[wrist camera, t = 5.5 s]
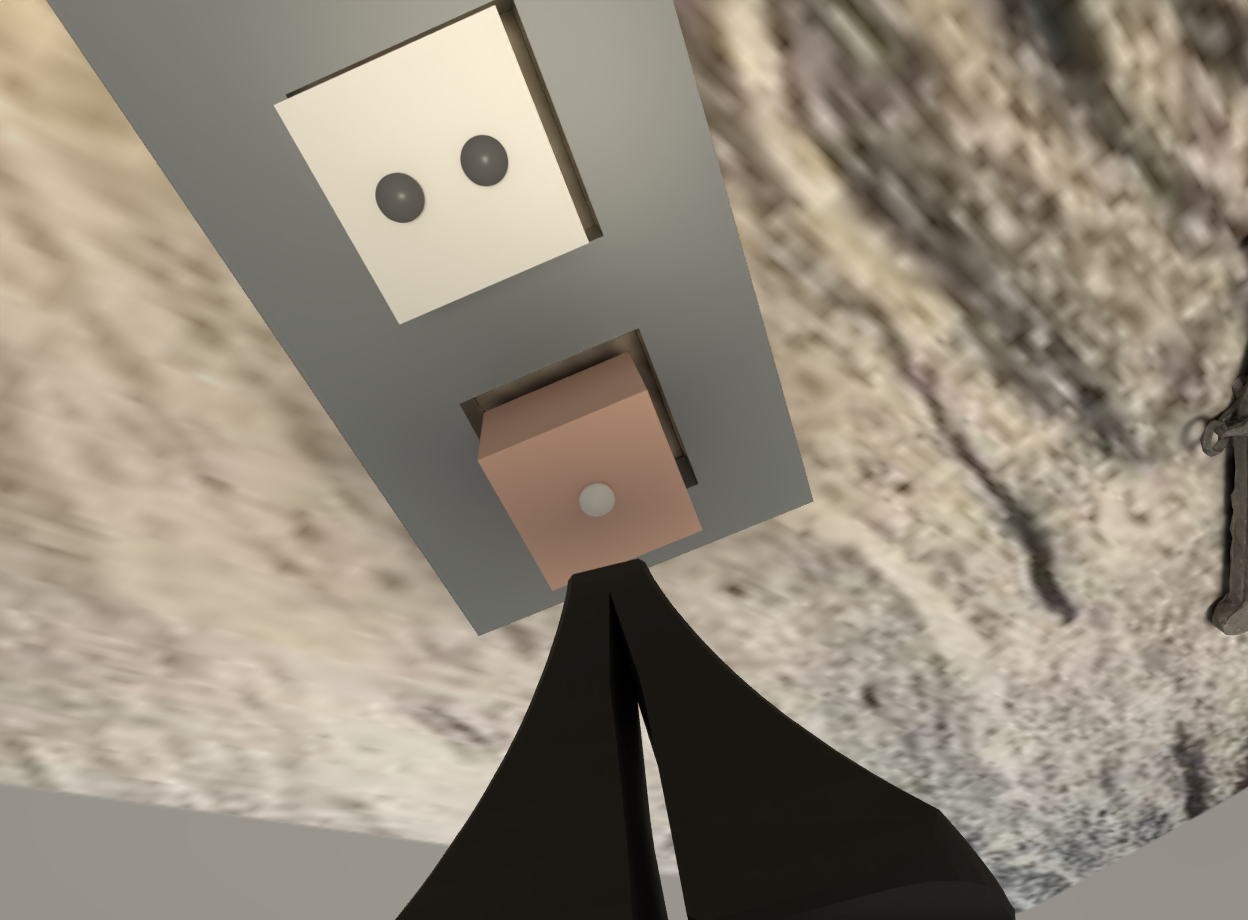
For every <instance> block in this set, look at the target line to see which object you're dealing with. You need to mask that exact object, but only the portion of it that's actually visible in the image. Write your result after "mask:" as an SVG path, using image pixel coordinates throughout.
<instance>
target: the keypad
mask: <svg viewBox="0 0 1248 920" xmlns="http://www.w3.org/2000/svg"><path fill="white" fill-rule="evenodd" d="M46 1H47V2H48V4H49V5H50V7H51V8H52V9H53V11H54V12H55V14H56V15H57V17H58V18H59V20H60V21H61V23H62V24H63V26H64V27H65V29H66V30H67V31H68V33H69V34H70V36H71V37H72V39H73V40H74V42H75V43H76V45H77V46H78V48H79V49H80V51H81V52H82V54H83V55H84V56H85V58H86V59H87V61H88V62H89V64H90V65H91V67H92V68H93V70H94V71H95V73H96V74H97V76H98V77H99V79H100V80H101V81H102V83H103V84H104V86H105V87H106V89H107V90H108V92H109V93H110V95H111V96H112V98H113V99H114V101H115V102H116V104H117V105H118V106H119V108H120V109H121V111H122V112H123V114H124V115H125V117H126V118H127V120H128V121H129V123H130V124H131V126H132V127H133V128H134V130H135V131H136V133H137V134H138V136H139V137H140V139H141V140H142V142H143V143H144V145H145V146H146V148H147V149H148V151H149V152H150V153H151V155H152V156H153V158H154V159H155V161H156V162H157V164H158V165H159V167H160V168H161V170H162V171H163V173H164V174H165V176H166V177H167V178H168V180H169V181H170V183H171V184H172V186H173V187H174V189H175V190H176V192H177V193H178V195H179V196H180V198H181V199H182V201H183V202H184V203H185V205H186V206H187V208H188V209H189V211H190V212H191V214H192V215H193V217H194V218H195V220H196V221H197V223H198V224H199V225H200V227H201V228H202V230H203V231H204V233H205V234H206V236H207V237H208V239H209V240H210V242H211V243H212V245H213V246H214V248H215V249H216V250H217V252H218V253H219V255H220V256H221V258H222V259H223V261H224V262H225V264H226V265H227V267H228V268H229V270H230V271H231V273H232V274H233V275H234V277H235V278H236V280H237V281H238V283H239V284H240V286H241V287H242V289H243V290H244V292H245V293H246V295H247V296H248V298H249V299H250V300H251V302H252V303H253V305H254V306H255V308H256V309H257V311H258V312H259V314H260V315H261V317H262V318H263V320H264V321H265V322H266V324H267V325H268V327H269V328H270V330H271V331H272V333H273V334H274V336H275V337H276V339H277V340H278V342H279V343H280V345H281V346H282V347H283V349H284V350H285V352H286V353H287V355H288V356H289V358H290V359H291V361H292V362H293V364H294V365H295V367H296V368H297V370H298V371H299V372H300V374H301V375H302V377H303V378H304V380H305V381H306V383H307V384H308V386H309V387H310V389H311V390H312V392H313V393H314V395H315V396H316V397H317V399H318V400H319V402H320V403H321V405H322V406H323V408H324V409H325V411H326V412H327V414H328V415H329V417H330V418H331V419H332V421H333V422H334V424H335V425H336V427H337V428H338V430H339V431H340V433H341V434H342V436H343V437H344V439H345V440H346V442H347V443H348V444H349V446H350V447H351V449H352V450H353V452H354V453H355V455H356V456H357V458H358V459H359V461H360V462H361V464H362V465H363V467H364V468H365V469H366V471H367V472H368V474H369V475H370V477H371V478H372V480H373V481H374V483H375V484H376V486H377V487H378V489H379V490H380V492H381V493H382V494H383V496H384V497H385V499H386V500H387V502H388V503H389V505H390V506H391V508H392V509H393V511H394V512H395V514H396V515H397V516H398V518H399V519H400V521H401V522H402V524H403V525H404V527H405V528H406V530H407V531H408V533H409V534H410V536H411V537H412V539H413V540H414V541H415V543H416V544H417V546H418V547H419V549H420V550H421V552H422V553H423V555H424V556H425V558H426V559H427V561H428V562H429V564H430V565H431V566H432V568H433V569H434V571H435V572H436V574H437V575H438V577H439V578H440V580H441V581H442V583H443V584H444V586H445V587H446V588H447V590H448V591H449V593H450V594H451V596H452V597H453V599H454V600H455V602H456V603H457V605H458V606H459V608H460V609H461V611H462V612H463V613H464V615H465V616H466V618H467V619H468V621H469V622H470V624H471V625H472V627H473V628H474V630H475V631H476V633H477V634H478V636H480V635H482V634H485V633H487V632H490V631H492V630H495V629H497V628H500V627H502V626H505V625H507V624H510V623H512V622H515V621H517V620H520V619H522V618H525V617H527V616H530V615H532V614H535V613H537V612H540V611H542V610H545V609H547V608H550V607H552V606H555V605H557V604H559V603H562V602H564V601H565V597H566V591H567V585H566V586H564V587H561V588H559V589H556V590H554V591H552V589H551V588H550V586H549V584H548V582H547V581H546V579H545V577H544V575H543V574H542V572H541V570H540V568H539V567H538V565H537V563H536V562H535V560H534V558H533V556H532V555H531V553H530V551H529V549H528V548H527V546H526V544H525V542H524V541H523V539H522V537H521V535H520V534H519V532H518V530H517V528H516V527H515V525H514V523H513V521H512V520H511V518H510V516H509V514H508V513H507V511H506V509H505V507H504V506H503V504H502V502H501V501H500V499H499V497H498V495H497V494H496V492H495V490H494V488H493V487H492V485H491V483H490V481H489V480H488V478H487V476H486V474H485V473H484V471H483V469H482V467H481V466H480V464H479V462H478V453H479V445H480V438H481V430H482V422H483V415H484V414H483V412H482V410H481V408H480V407H479V405H478V403H477V401H476V399H475V397H477V396H479V395H482V394H484V393H486V392H489V391H491V390H493V389H496V388H498V387H501V386H503V385H505V384H508V383H510V382H512V381H515V380H517V379H519V378H522V377H524V376H527V375H529V374H531V373H534V372H536V371H538V370H541V369H543V368H546V367H548V366H550V365H553V364H555V363H557V362H560V361H562V360H565V359H567V358H569V357H572V356H574V355H576V354H579V353H581V352H584V351H586V350H588V349H591V348H593V347H595V346H598V345H600V344H603V343H605V342H607V341H610V340H612V339H614V338H617V337H619V336H621V335H624V334H626V333H629V332H631V331H633V330H636V331H637V334H638V337H639V339H640V342H641V344H642V347H643V350H644V352H645V355H646V357H647V360H648V363H649V365H650V368H651V370H652V373H653V375H654V378H655V381H656V383H657V386H658V388H659V391H660V394H661V396H662V399H663V401H664V404H665V407H666V409H667V412H668V414H669V417H670V420H671V422H672V425H673V427H674V430H675V433H676V435H677V438H678V440H679V443H680V446H681V448H682V451H683V453H684V456H682V457H680V458H677V459H675V461H676V464H677V466H678V469H679V472H680V474H681V477H682V479H683V482H684V484H685V487H686V489H687V492H688V494H689V497H690V499H691V502H692V504H693V507H694V509H695V512H696V515H697V517H698V520H699V522H700V525H701V527H702V531H700V532H697V533H695V534H692V535H690V536H687V537H685V538H682V539H680V540H678V541H675V542H673V543H670V544H668V545H665V546H663V547H660V548H658V549H655V550H653V551H650V552H648V553H645V554H643V555H640V556H638V557H635V558H633V559H630V560H634V559H638V558H639V559H641V560H642V561H644V562H646V565H647V567H648V568H649V567H651V566H654V565H656V564H659V563H661V562H664V561H666V560H669V559H671V558H674V557H676V556H679V555H681V554H684V553H686V552H689V551H691V550H694V549H696V548H699V547H701V546H704V545H706V544H709V543H711V542H714V541H716V540H719V539H721V538H724V537H726V536H729V535H731V534H733V533H736V532H738V531H741V530H743V529H746V528H748V527H751V526H753V525H756V524H758V523H761V522H763V521H766V520H768V519H771V518H773V517H776V516H778V515H781V514H783V513H786V512H788V511H791V510H793V509H796V508H798V507H801V506H803V505H806V504H808V503H811V502H813V498H812V494H811V491H810V487H809V484H808V480H807V476H806V473H805V469H804V466H803V462H802V459H801V455H800V452H799V448H798V444H797V441H796V437H795V434H794V430H793V427H792V423H791V420H790V416H789V412H788V409H787V405H786V402H785V398H784V395H783V391H782V387H781V384H780V380H779V377H778V373H777V370H776V366H775V363H774V359H773V355H772V352H771V348H770V345H769V341H768V338H767V334H766V331H765V327H764V323H763V320H762V316H761V313H760V309H759V306H758V302H757V299H756V295H755V291H754V288H753V284H752V281H751V277H750V274H749V270H748V266H747V263H746V259H745V256H744V252H743V249H742V245H741V242H740V238H739V234H738V231H737V227H736V224H735V220H734V217H733V213H732V210H731V206H730V202H729V199H728V195H727V192H726V188H725V185H724V181H723V178H722V174H721V170H720V167H719V163H718V160H717V156H716V153H715V149H714V145H713V142H712V138H711V135H710V131H709V128H708V124H707V121H706V117H705V113H704V110H703V106H702V103H701V99H700V96H699V92H698V89H697V85H696V81H695V78H694V74H693V71H692V67H691V64H690V60H689V57H688V53H687V49H686V46H685V42H684V39H683V35H682V32H681V28H680V24H679V21H678V17H677V14H676V10H675V7H674V3H673V0H46ZM494 5H495V6H496V9H497V11H498V14H500V13H502V12H504V11H506V10H509V9H511V8H512V10H513V12H514V15H515V17H516V20H517V23H518V25H519V28H520V30H521V33H522V36H523V38H524V41H525V43H526V46H527V49H528V51H529V54H530V56H531V59H532V62H533V64H534V67H535V69H536V72H537V75H538V77H539V80H540V82H541V85H542V88H543V90H544V93H545V95H546V98H547V100H548V103H549V106H550V108H551V111H552V113H553V116H554V119H555V121H556V124H557V126H558V129H559V132H560V134H561V137H562V139H563V142H564V145H565V147H566V150H567V152H568V155H569V158H570V160H571V163H572V165H573V168H574V171H575V173H576V176H577V178H578V181H579V184H580V186H581V189H582V191H583V194H584V196H585V199H586V202H587V204H588V207H589V209H590V212H591V215H592V217H593V220H594V222H595V225H596V226H594V227H591V228H589V229H587V230H584V231H585V234H586V236H587V239H588V241H589V243H588V244H586V245H583V246H581V247H579V248H576V249H574V250H572V251H569V252H567V253H565V254H562V255H560V256H558V257H555V258H553V259H551V260H548V261H546V262H544V263H541V264H539V265H537V266H534V267H532V268H530V269H527V270H525V271H523V272H520V273H518V274H516V275H514V276H511V277H509V278H507V279H504V280H502V281H500V282H497V283H495V284H493V285H490V286H488V287H486V288H483V289H481V290H479V291H476V292H474V293H472V294H469V295H467V296H465V297H462V298H460V299H458V300H455V301H453V302H451V303H448V304H446V305H444V306H441V307H439V308H437V309H434V310H432V311H430V312H427V313H425V314H423V315H420V316H418V317H416V318H414V319H411V320H409V321H407V322H404V323H402V324H400V325H399V323H398V321H397V319H396V318H395V316H394V314H393V312H392V311H391V309H390V307H389V305H388V304H387V302H386V300H385V298H384V297H383V295H382V293H381V291H380V290H379V288H378V286H377V284H376V283H375V281H374V279H373V277H372V276H371V274H370V272H369V270H368V269H367V267H366V265H365V264H364V262H363V260H362V258H361V257H360V255H359V253H358V251H357V250H356V248H355V246H354V244H353V243H352V241H351V239H350V237H349V236H348V234H347V232H346V230H345V229H344V227H343V225H342V223H341V222H340V220H339V218H338V216H337V215H336V213H335V211H334V209H333V208H332V206H331V204H330V203H329V201H328V199H327V197H326V196H325V194H324V192H323V190H322V189H321V187H320V185H319V183H318V182H317V180H316V178H315V176H314V175H313V173H312V171H311V169H310V168H309V166H308V164H307V162H306V161H305V159H304V157H303V155H302V154H301V152H300V150H299V148H298V147H297V145H296V143H295V142H294V140H293V138H292V136H291V135H290V133H289V131H288V129H287V128H286V126H285V124H284V122H283V121H282V119H281V117H280V115H279V114H278V112H277V110H276V108H275V107H274V105H275V104H277V103H279V102H282V101H284V100H286V99H288V98H291V97H293V96H295V95H297V94H299V93H302V92H304V91H306V90H308V89H310V88H313V87H315V86H317V85H319V84H321V83H324V82H326V81H328V80H330V79H333V78H335V77H337V76H339V75H341V74H344V73H346V72H348V71H350V70H352V69H355V68H357V67H359V66H361V65H363V64H366V63H368V62H370V61H372V60H375V59H377V58H379V57H381V56H383V55H386V54H388V53H390V52H392V51H394V50H397V49H399V48H401V47H403V46H405V45H408V44H410V43H412V42H414V41H417V40H419V39H421V38H423V37H425V36H428V35H430V34H432V33H434V32H436V31H439V30H441V29H443V28H445V27H447V26H450V25H452V24H454V23H456V22H459V21H461V20H463V19H465V18H467V17H470V16H472V15H474V14H476V13H478V12H481V11H483V10H485V9H487V8H489V7H492V6H494ZM628 561H629V560H628Z"/></svg>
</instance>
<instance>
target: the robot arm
mask: <svg viewBox="0 0 1248 920" xmlns="http://www.w3.org/2000/svg"><path fill="white" fill-rule="evenodd" d="M637 700H638V701H637ZM638 704H639V707H640V710H641V713H642V717H643V720H644V723H645V726H646V729H647V733H648V736H649V739H650V742H651V745H652V749H653V752H654V755H655V758H656V761H657V765H658V768H659V773H660V778H661V783H662V788H663V793H664V798H665V803H666V808H667V813H668V819H669V824H670V829H671V834H672V839H673V844H674V849H675V855H676V860H677V865H678V870H679V876H680V881H681V886H682V891H683V897H684V902H685V906H686V912H687V917H688V920H1015V910H1014V908H1013V907H1012V905H1011V904H1010V902H1009V901H1008V899H1007V897H1006V895H1005V893H1004V891H1003V889H1002V888H1001V886H1000V885H999V883H998V882H997V880H996V878H995V877H994V876H993V874H992V873H991V872H990V870H989V869H988V868H987V866H986V865H985V864H984V862H983V861H982V860H981V859H980V857H979V856H978V855H977V853H976V852H975V851H974V850H973V848H972V847H971V846H970V845H969V843H968V842H967V841H966V840H965V838H964V837H963V836H962V835H961V834H960V833H959V832H958V830H957V829H956V828H955V827H954V826H953V825H952V823H951V822H950V821H949V820H948V819H947V818H946V817H945V816H944V815H943V813H942V812H941V811H940V810H939V809H937V808H935V807H933V806H931V805H929V804H927V803H925V802H923V801H922V800H920V799H918V798H916V797H914V796H912V795H910V794H908V793H907V792H905V791H903V790H901V789H899V788H898V787H896V786H894V785H892V784H891V783H889V782H887V781H885V780H884V779H882V778H880V777H878V776H877V775H875V774H873V773H871V772H870V771H868V770H867V769H865V768H863V767H862V766H860V765H858V764H857V763H855V762H854V761H852V760H850V759H849V758H847V757H846V756H844V755H842V754H841V753H839V752H838V751H836V750H835V749H833V748H832V747H830V746H829V745H827V744H826V743H825V742H823V741H822V740H820V739H819V738H817V737H816V736H815V735H813V734H812V733H810V732H809V731H807V730H806V729H805V728H803V727H802V726H800V725H799V724H797V723H796V722H795V721H793V720H792V719H790V718H789V717H788V716H786V715H785V714H784V713H782V712H781V711H780V710H779V709H777V708H776V707H775V706H774V705H772V704H771V703H770V702H769V701H767V700H766V699H765V698H763V697H762V696H761V695H760V694H759V693H758V692H756V691H755V690H754V689H753V688H752V687H751V686H749V685H748V684H747V683H746V682H745V681H744V680H742V679H741V678H740V677H739V676H738V675H737V674H736V673H735V672H734V671H733V670H732V669H731V668H729V667H728V666H727V665H726V664H725V663H724V662H723V661H722V660H721V659H720V658H719V657H718V656H717V655H716V654H715V653H714V652H713V651H712V650H711V649H710V648H709V647H708V646H707V645H706V644H705V642H704V641H703V640H702V639H701V638H700V637H699V636H698V635H697V634H696V633H695V632H694V630H693V629H692V628H691V627H690V626H689V624H688V623H687V622H686V621H685V620H684V619H683V617H682V616H681V615H680V614H679V613H678V612H677V610H676V609H675V608H674V606H673V605H672V604H671V603H670V601H669V600H668V599H667V597H666V596H665V594H664V593H663V592H662V590H661V589H660V587H659V586H658V584H657V583H656V581H655V580H654V578H653V576H652V575H651V573H650V571H649V569H648V567H647V565H646V562H644V561H642V560H641V559H639V558H638V559H634V560H629V561H625V562H621V563H617V564H613V565H609V566H605V567H601V568H596V569H592V570H588V571H584V572H580V573H576V574H572V576H571V577H570V579H569V580H568V584H567V591H566V597H565V601H564V606H563V610H562V614H561V618H560V621H559V625H558V629H557V632H556V635H555V638H554V641H553V644H552V647H551V650H550V653H549V657H548V660H547V662H546V665H545V668H544V671H543V673H542V676H541V678H540V681H539V683H538V686H537V688H536V691H535V693H534V696H533V698H532V701H531V703H530V705H529V708H528V710H527V712H526V714H525V717H524V719H523V721H522V723H521V725H520V727H519V729H518V731H517V734H516V736H515V738H514V740H513V741H512V743H511V745H510V747H509V749H508V751H507V753H506V755H505V757H504V759H503V761H502V763H501V764H500V766H499V768H498V770H497V771H496V773H495V775H494V777H493V778H492V780H491V782H490V784H489V785H488V787H487V789H486V791H485V792H484V794H483V796H482V798H481V799H480V801H479V802H478V804H477V806H476V807H475V809H474V811H473V812H472V814H471V815H470V817H469V818H468V820H467V821H466V823H465V824H464V826H463V827H462V829H461V830H460V832H459V833H458V835H457V836H456V838H455V839H454V841H453V842H452V843H451V845H450V846H449V848H448V850H447V851H446V852H445V854H444V855H443V857H442V858H441V860H440V861H439V863H438V864H437V866H436V867H435V868H434V870H433V871H432V873H431V874H430V875H429V877H428V878H427V880H426V881H425V882H424V884H423V885H422V886H421V888H420V889H419V890H418V892H417V893H416V894H415V895H414V897H413V898H412V899H411V900H410V902H409V903H408V905H407V906H406V907H405V908H404V910H403V911H402V912H401V913H400V914H399V916H398V917H397V918H396V919H395V920H668V917H667V911H666V906H665V901H664V896H663V891H662V886H661V880H660V875H659V870H658V865H657V860H656V855H655V849H654V843H653V836H652V829H651V822H650V813H649V804H648V794H647V785H646V775H645V766H644V756H643V747H642V738H641V728H640V719H639V710H638Z"/></svg>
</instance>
